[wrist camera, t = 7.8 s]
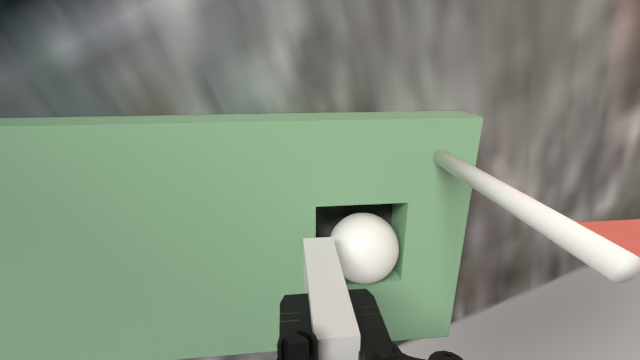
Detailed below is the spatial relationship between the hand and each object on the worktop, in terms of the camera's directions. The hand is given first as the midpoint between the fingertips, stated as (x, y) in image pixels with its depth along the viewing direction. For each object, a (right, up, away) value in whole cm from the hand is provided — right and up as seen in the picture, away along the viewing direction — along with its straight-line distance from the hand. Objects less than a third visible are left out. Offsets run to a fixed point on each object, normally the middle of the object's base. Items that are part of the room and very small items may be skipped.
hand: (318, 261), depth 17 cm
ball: (+3, 0, +2) cm, 3 cm away
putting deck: (-7, +1, +3) cm, 7 cm away
